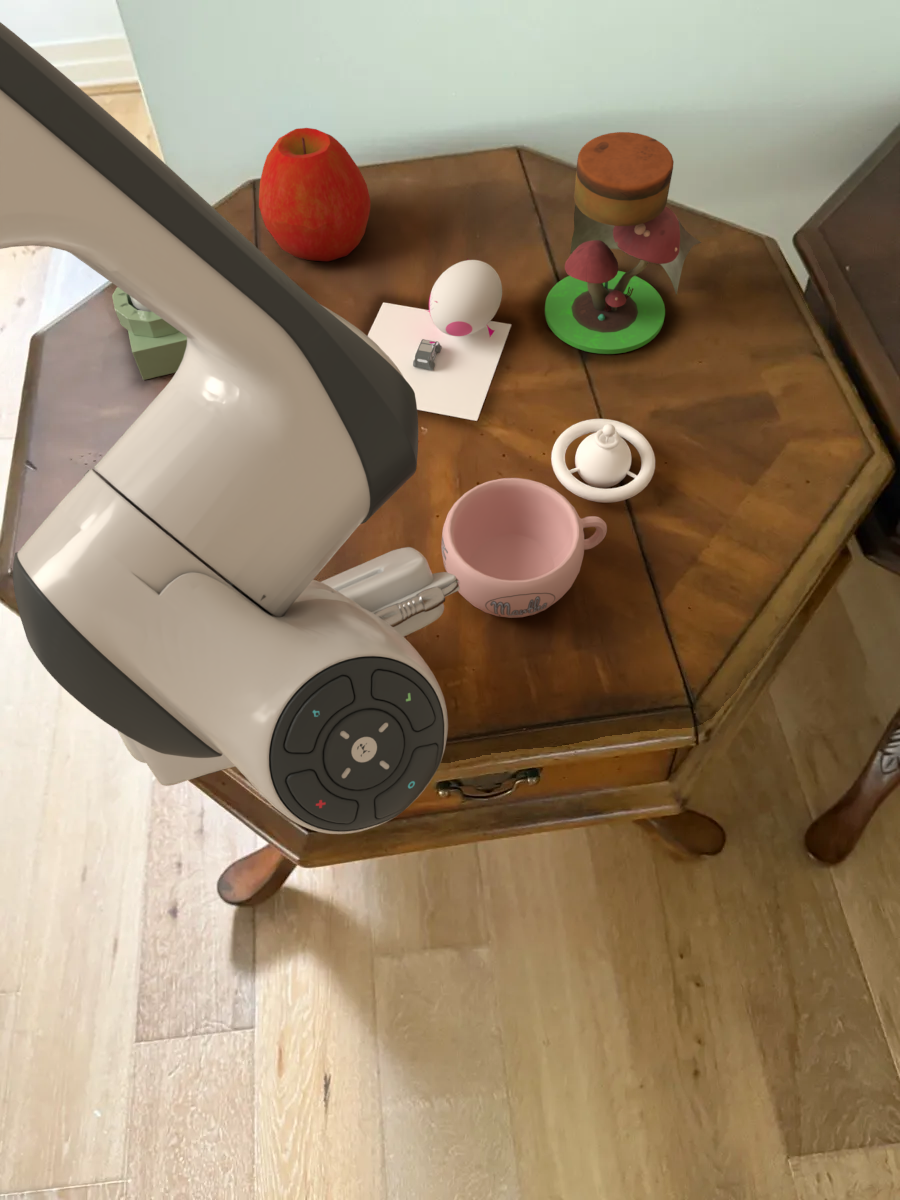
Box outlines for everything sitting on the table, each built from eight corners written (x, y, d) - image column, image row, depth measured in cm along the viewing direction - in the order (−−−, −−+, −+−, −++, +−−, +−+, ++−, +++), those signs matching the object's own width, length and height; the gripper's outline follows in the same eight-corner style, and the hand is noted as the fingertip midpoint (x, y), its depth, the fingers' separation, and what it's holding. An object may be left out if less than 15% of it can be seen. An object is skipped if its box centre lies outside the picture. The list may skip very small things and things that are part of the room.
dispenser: (137, 381, 83) (119, 336, 79) (124, 314, 88) (106, 268, 84) (279, 348, 85) (269, 302, 81) (258, 284, 90) (248, 238, 86)
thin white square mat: (511, 324, 86) (512, 311, 85) (476, 420, 80) (476, 408, 78) (383, 302, 88) (381, 288, 87) (339, 394, 82) (337, 381, 80)
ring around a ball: (619, 423, 79) (531, 455, 77) (630, 373, 74) (536, 406, 73) (670, 494, 75) (579, 529, 74) (684, 446, 70) (587, 483, 69)
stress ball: (464, 322, 90) (427, 261, 87) (532, 302, 85) (495, 235, 82) (427, 372, 87) (386, 309, 83) (495, 354, 81) (455, 286, 78)
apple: (257, 218, 95) (235, 116, 86) (359, 197, 97) (347, 94, 88) (279, 284, 90) (257, 181, 81) (386, 260, 91) (376, 157, 82)
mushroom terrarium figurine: (661, 376, 82) (695, 221, 69) (521, 340, 85) (529, 185, 72) (695, 289, 88) (732, 132, 75) (563, 258, 91) (577, 102, 78)
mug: (461, 648, 68) (460, 603, 63) (429, 539, 73) (425, 488, 68) (624, 611, 69) (635, 564, 64) (580, 506, 75) (587, 455, 70)
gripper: (449, 530, 52) (384, 516, 65) (78, 692, 47) (88, 642, 60) (489, 635, 53) (418, 601, 66) (133, 803, 49) (131, 730, 62)
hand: (259, 621), depth 63 cm, fingers closed on supplement bottle, 5 cm apart
